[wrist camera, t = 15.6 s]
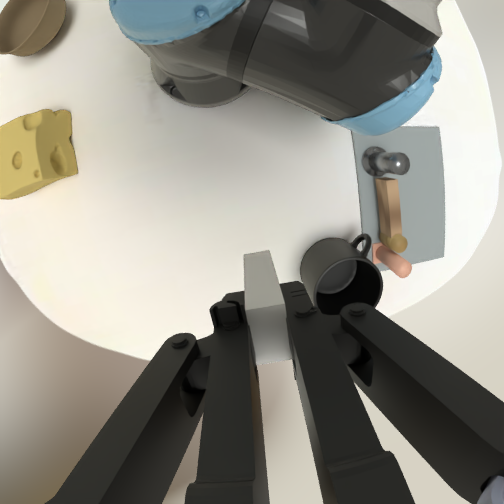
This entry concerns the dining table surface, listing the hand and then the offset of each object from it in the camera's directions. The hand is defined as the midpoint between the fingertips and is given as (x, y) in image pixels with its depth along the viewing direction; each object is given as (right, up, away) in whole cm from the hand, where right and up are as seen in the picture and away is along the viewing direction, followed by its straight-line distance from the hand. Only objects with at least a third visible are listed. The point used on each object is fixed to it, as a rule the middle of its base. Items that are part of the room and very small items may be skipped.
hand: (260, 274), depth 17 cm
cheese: (-32, +17, +19) cm, 41 cm away
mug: (+12, 0, +26) cm, 29 cm away
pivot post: (+17, +14, +22) cm, 31 cm away
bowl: (-35, +38, +12) cm, 53 cm away
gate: (+19, +7, +22) cm, 30 cm away
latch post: (+19, +1, +26) cm, 32 cm away
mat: (+23, +10, +23) cm, 34 cm away
